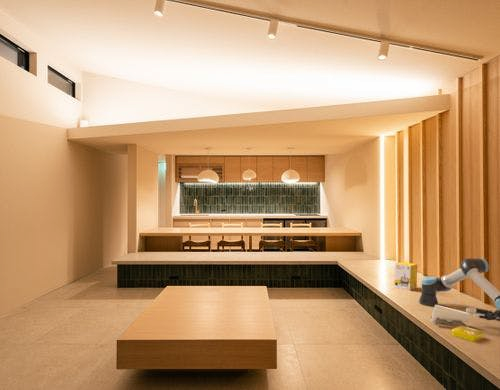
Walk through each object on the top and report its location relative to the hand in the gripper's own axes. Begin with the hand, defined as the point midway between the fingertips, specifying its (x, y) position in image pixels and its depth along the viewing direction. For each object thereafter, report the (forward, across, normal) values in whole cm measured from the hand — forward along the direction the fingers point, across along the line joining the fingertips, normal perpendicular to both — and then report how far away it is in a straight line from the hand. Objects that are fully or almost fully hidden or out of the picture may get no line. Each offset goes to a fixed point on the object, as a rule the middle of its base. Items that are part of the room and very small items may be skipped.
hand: (470, 312), depth 262 cm
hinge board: (+14, 0, -10) cm, 17 cm away
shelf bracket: (+13, 0, -8) cm, 16 cm away
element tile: (+9, -22, -10) cm, 27 cm away
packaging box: (+21, +110, -10) cm, 113 cm away
